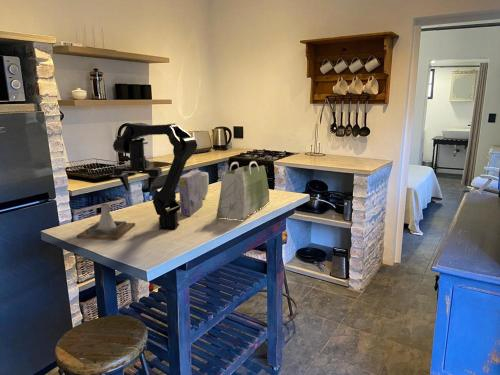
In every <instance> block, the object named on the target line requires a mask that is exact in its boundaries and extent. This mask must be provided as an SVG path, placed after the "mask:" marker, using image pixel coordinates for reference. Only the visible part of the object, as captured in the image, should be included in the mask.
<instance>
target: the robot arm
mask: <svg viewBox="0 0 500 375" xmlns="http://www.w3.org/2000/svg"><path fill="white" fill-rule="evenodd" d="M156 135H166V136H167V138H168V140H169V143H170V144H171V146H173V149H172V153H173V159H172V162H171V164H170V168H169V170H168V172H167V176H166V178H165V181H164V184H163V186H162V187H161V188H158V189H155V191H154V195H153V197H152V199H153V200H152V204H153V208H154V209H155V212H156V215H158V225H159V230H169V231H171V230H172V231H174V230H176V229H177V228H178V227H179V226H180V223H179V221H178V220H179V219H178V218H179V217H178V212H179V211H181V208H180V207H181V206H180V203H179V202H178V201H177V200H176V199H177V198H176V197H177V195H176V190H177V186H178V185H179V183H178V182H179V179H180V177H181V176H182V175H183V171H184V168H185V166H186V164H187V161H189V159H190V158H191V157H192V156H193V155H194V153H195V152H196V150H197V149H198V143H197V140H196V139H195V138H194V137H193V136H191V134H190V133H189V132H188V131H186V130H184V129H182V127H180V125H178V124H177V123H167V124H147V123H143V122H133V123H126V126H125V129H124V131H123V133H122V135H118V136H115V137H116V139H115V140H113V144H112V148H113V150H114V151H115V152H116V153H120V154H121V153H124V154H129V157H128V161H129V166H130V167H129V168H128V167H127V165H126V166H124V165H123V166H122V165H118V166H116V167H115V168H113V170H112V175H113V176H116V178H118V179H119V180H120V182H121V183H122V185H123V186H124V189H125V191H127V192H129V191H130V186H129V185H130V184H129V174H139V175H141V174H142V175H143V174H144V175H148V176H147V186H148V193H151V191H152V189H153V185H154V182H155V180H156V179H157V178H158V177H159V176H161V175H163V170H162V168H161V167H157V166H156V167H153V166H152V167H150V160H147V159H146V158H147V157H146V155H145V147H144V146H145V145H147V144H149V143H148V141H147V140H146V139H145V138H144V137H148V136H156Z"/></svg>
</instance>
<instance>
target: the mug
mask: <svg viewBox="0 0 500 375" xmlns="http://www.w3.org/2000/svg"><path fill="white" fill-rule="evenodd" d="M201 184H202V200H203V199H205V198H206V196H207V195H208V193H209V186H210V185H209V172H206V171H201Z"/></svg>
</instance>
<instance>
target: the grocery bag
mask: <svg viewBox="0 0 500 375" xmlns="http://www.w3.org/2000/svg"><path fill="white" fill-rule="evenodd" d="M253 164H255V165H256V166H255V167H253V166H252V165H253ZM234 165H237V168H236V169H233V170H232V167H233V166H234ZM267 176H268V175H267V172H266V168H265V165H258V163H257V161H256V160H252V161H250V162H249V165H245V166H241V167H240V166H239V162H238V161H233V162H231V164H230V166H229V170H227V171H224V172H223V173H221V176H220V184H221V185H220V192H219V198H218V199H219V200H218V205H217V210H216V217H215V219H216V218H226V219H227V218H228V219H237V220H244V219H245V218H246V217H247V216H248V215H250V214H252V213H254V212H255V211H257V210H259V209H260V208H262V207H264V206H265V205H266V204H267V203H268V202H269V203H270V188H269V184H268V177H267ZM269 203H268V204H269ZM268 204H267V205H268ZM267 205H266V206H267ZM266 206H265V207H266ZM265 207H264V208H265ZM262 209H263V208H262ZM259 211H260V210H259ZM257 212H258V211H257ZM255 213H256V212H255ZM255 213H254V214H255ZM252 215H253V214H252ZM250 216H251V215H250ZM248 217H249V216H248ZM248 217H247V218H248ZM247 218H246V219H247ZM226 219H225V220H226ZM246 219H245V220H246ZM245 220H244V221H245Z"/></svg>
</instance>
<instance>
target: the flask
mask: <svg viewBox="0 0 500 375" xmlns="http://www.w3.org/2000/svg"><path fill="white" fill-rule="evenodd" d="M109 204H110V203H102V204H100V205H99V206H100V209H101V212H100V218H99V221H100V222H99V221H98V222H99V225H98V229H99V230H113V229H114V228H116V225H115V223H114V221H115V220H113V219H114V218H112V215H111V213H110V209H109Z"/></svg>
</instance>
